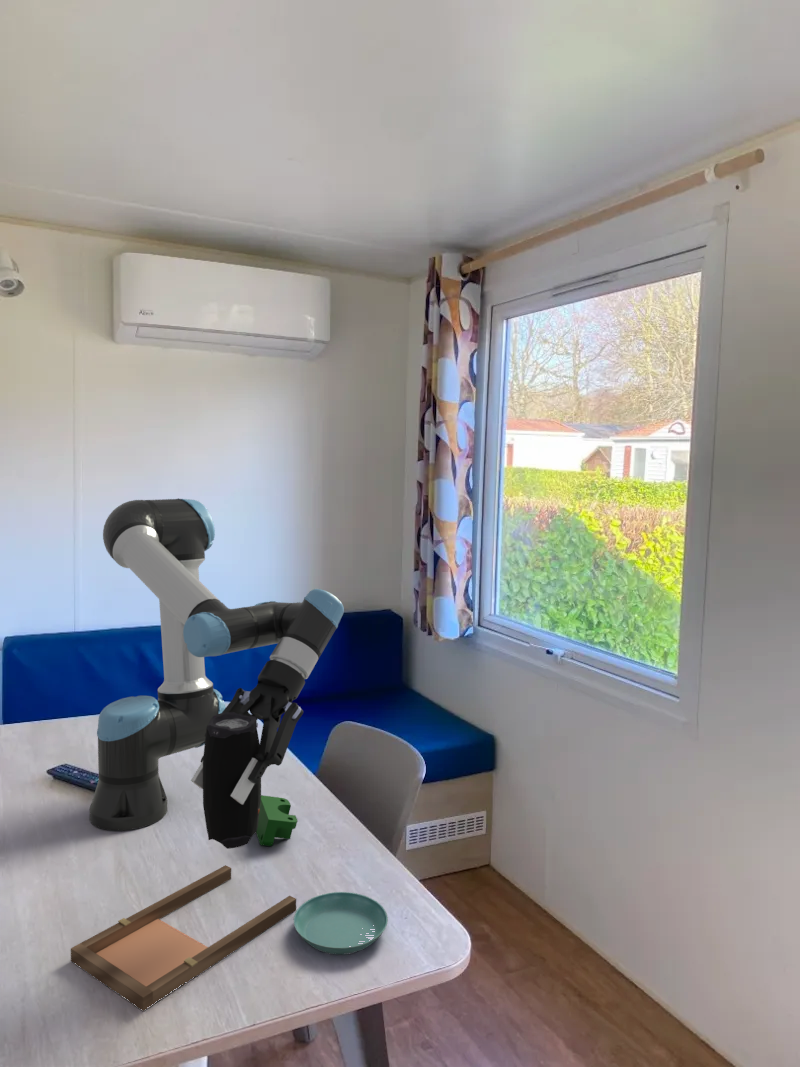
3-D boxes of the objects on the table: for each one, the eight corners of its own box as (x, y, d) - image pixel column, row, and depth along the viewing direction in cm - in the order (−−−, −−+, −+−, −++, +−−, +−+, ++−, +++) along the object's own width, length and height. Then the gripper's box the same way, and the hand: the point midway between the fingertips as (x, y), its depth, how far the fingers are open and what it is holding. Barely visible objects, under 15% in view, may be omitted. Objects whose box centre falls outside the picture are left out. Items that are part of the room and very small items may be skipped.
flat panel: (95, 955, 114) (95, 953, 114) (157, 920, 123) (157, 918, 123) (154, 994, 106) (154, 992, 106) (216, 954, 115) (216, 952, 115)
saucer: (308, 973, 112) (309, 956, 111) (282, 917, 125) (282, 902, 125) (402, 950, 117) (402, 934, 117) (367, 899, 131) (367, 884, 131)
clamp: (284, 863, 150) (299, 830, 146) (254, 860, 148) (269, 826, 144) (280, 814, 160) (294, 783, 157) (252, 811, 158) (266, 779, 155)
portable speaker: (271, 831, 127) (271, 715, 125) (233, 856, 118) (233, 733, 116) (230, 818, 131) (230, 706, 129) (191, 842, 122) (190, 723, 120)
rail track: (70, 960, 113) (70, 946, 112) (224, 875, 137) (224, 863, 136) (144, 1012, 103) (143, 996, 102) (296, 910, 127) (296, 897, 126)
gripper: (345, 693, 129) (277, 821, 117) (254, 671, 141) (185, 785, 129) (324, 669, 124) (252, 800, 112) (232, 648, 136) (158, 765, 124)
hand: (216, 792), depth 121 cm, fingers closed on portable speaker, 8 cm apart
